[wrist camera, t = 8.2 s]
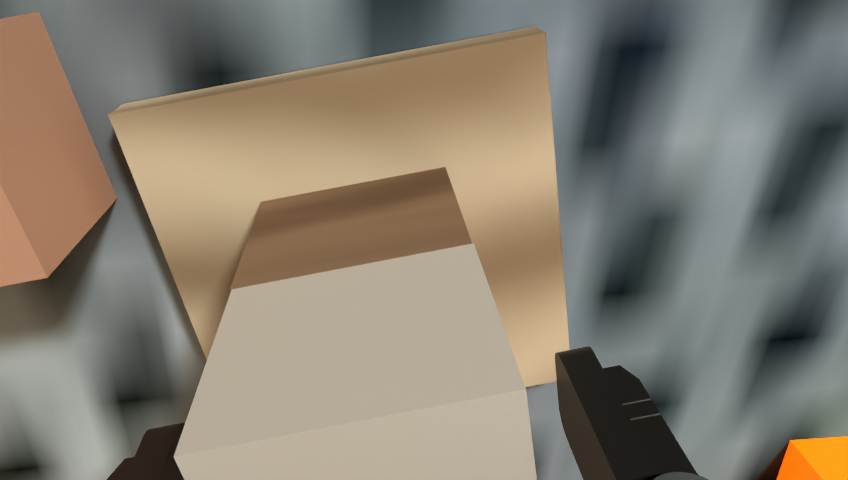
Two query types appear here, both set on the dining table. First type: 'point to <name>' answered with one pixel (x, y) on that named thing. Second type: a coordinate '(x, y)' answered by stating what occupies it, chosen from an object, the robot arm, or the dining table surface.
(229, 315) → the grey block
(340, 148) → the birch board
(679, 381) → the dining table surface
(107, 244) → the dining table surface
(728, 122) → the dining table surface
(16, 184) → the terracotta block
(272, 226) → the walnut block
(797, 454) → the orange juice
